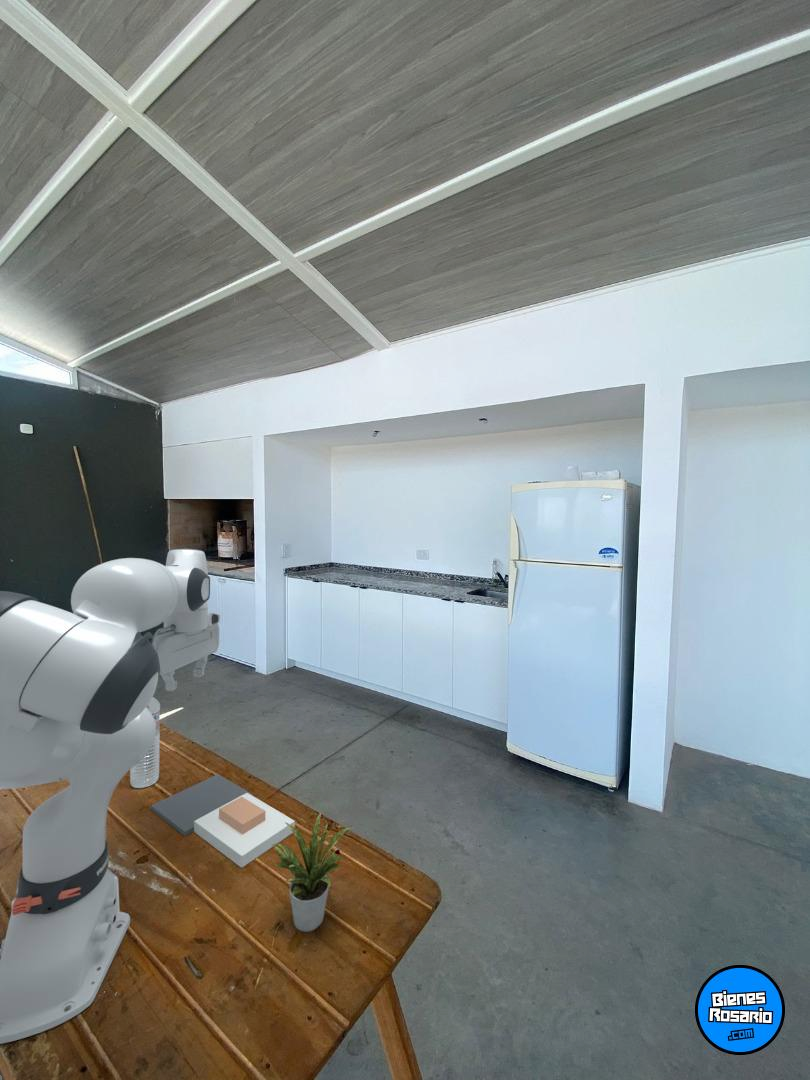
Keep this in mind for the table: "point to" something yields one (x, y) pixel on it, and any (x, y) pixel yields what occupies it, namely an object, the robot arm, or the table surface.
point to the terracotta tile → (242, 815)
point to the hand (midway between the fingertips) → (185, 682)
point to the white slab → (249, 843)
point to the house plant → (309, 876)
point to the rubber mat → (197, 802)
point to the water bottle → (148, 756)
